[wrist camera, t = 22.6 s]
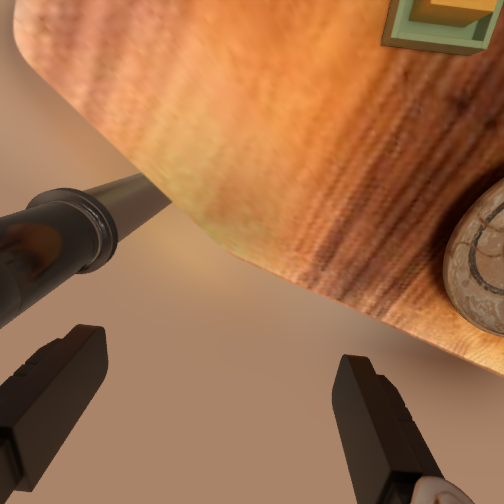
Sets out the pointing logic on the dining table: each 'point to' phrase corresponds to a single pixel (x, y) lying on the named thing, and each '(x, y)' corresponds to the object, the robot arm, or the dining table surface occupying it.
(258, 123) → the dining table surface
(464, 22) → the block
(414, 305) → the dining table surface
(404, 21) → the tray
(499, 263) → the ceramic bowl
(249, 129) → the dining table surface
